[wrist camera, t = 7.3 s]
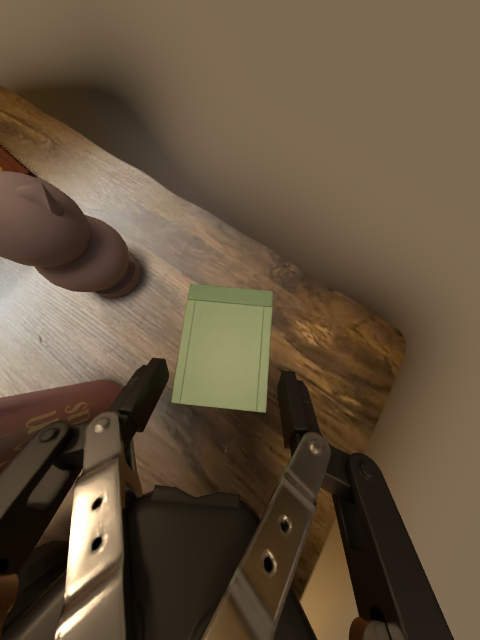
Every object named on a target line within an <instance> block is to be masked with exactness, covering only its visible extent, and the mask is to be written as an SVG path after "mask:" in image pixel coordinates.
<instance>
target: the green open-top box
mask: <svg viewBox="0 0 480 640" xmlns="http://www.w3.org/2000/svg"><path fill="white" fill-rule="evenodd" d="M272 305H273V291H265V290H254V289H242V288H231V287H220V286H208V285H197V284H190V288H189V294H188V300H187V306H186V312H185V318H184V324H183V330H182V337H181V343H180V349H179V355H178V361H177V367H176V374H175V380H174V386H173V392H172V398H171V403H180V404H187V405H197V406H206V407H216V408H225V409H235V410H244V411H254V412H256V411H257V412H264V413H265V412H266V405H267V389H268V372H269V356H270V339H271V322H272Z"/></svg>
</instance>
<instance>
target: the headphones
mask: <svg viewBox="0 0 480 640" xmlns="http://www.w3.org/2000/svg"><path fill="white" fill-rule="evenodd" d="M69 543H70V542H69V541H53V542H50V541H46V542H43V543H41V544H39V545H36V546H35V548H34V549H33V551H32V553H31V554H30V556H29V558H28V559H27V561H26V563H25V564H24V566H23V568H22V569H21V571H20V573H19V574H18V579H19V584H18V590H17V593H16V594H17V597H16V601H15V604H14V606H13V607H12V609H11V610H10V612H9V613H8V614H7V615H6V618H5V620H4V623H3V627H2V632H1V637H2V636H3V635H4V634H5V632H6V631H7V630H8V629H9V628H10V627H11V626H12V625H13V624H14V623H15V622H16V621H17V620H18V619H19V618H20V617H21V616H22V615H23V614H24V613H25V612H26V611H27V610H28V609H29V608H30V607H31V606H32V605H33V604H34V602H35V601H36V600H37V599H38V598H39V597H40V596H41V595H42V594H43V593H44V592H45V591H46V590H47V589H48V588H49V587H50V586H51V585H52V584H53V583H54V582H55V581H56V580H57V579H58V578H59V577H60V576H61V575H62V574H63V572H64V571H65V570H66V569H67V565H68V554H69Z"/></svg>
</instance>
